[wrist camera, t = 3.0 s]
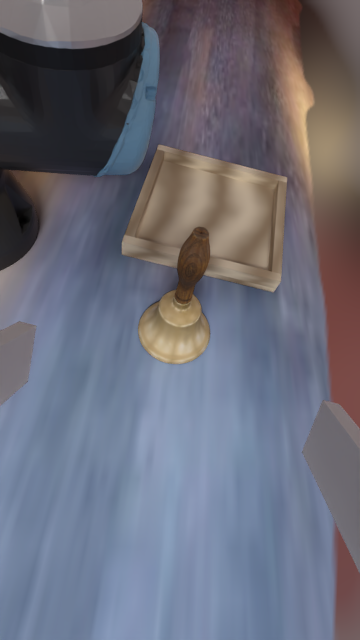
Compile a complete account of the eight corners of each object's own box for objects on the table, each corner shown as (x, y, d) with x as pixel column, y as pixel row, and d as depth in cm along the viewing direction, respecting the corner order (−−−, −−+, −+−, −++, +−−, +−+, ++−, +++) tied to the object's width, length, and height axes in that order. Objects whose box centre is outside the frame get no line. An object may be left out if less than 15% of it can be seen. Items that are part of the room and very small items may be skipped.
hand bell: (128, 310, 40) (130, 204, 26) (193, 293, 42) (226, 188, 29) (152, 374, 37) (169, 292, 23) (220, 352, 39) (274, 266, 25)
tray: (121, 254, 44) (121, 241, 42) (157, 158, 54) (158, 144, 51) (273, 292, 44) (280, 281, 42) (280, 190, 54) (286, 177, 52)
